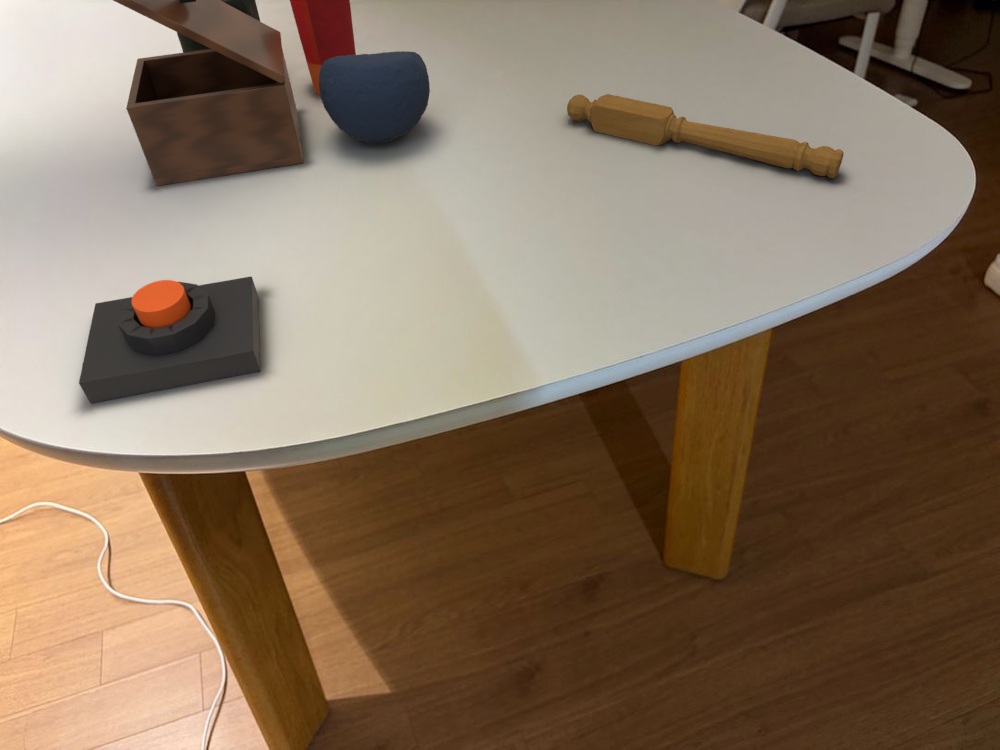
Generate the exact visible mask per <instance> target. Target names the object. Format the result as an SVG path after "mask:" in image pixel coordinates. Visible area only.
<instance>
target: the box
mask: <svg viewBox="0 0 1000 750" xmlns="http://www.w3.org/2000/svg"><path fill="white" fill-rule="evenodd" d="M283 50H284V49H283V48H282V53H283V62H284V72H285V79H284V81H283V83H282V84H281V83H279V82H277V81H275V80H273V79H271V78H269V77H267V76H265V75H263V74H261V73H259V72H257V71H255V70H253V69H251V68H249V67H247V66H245V65H243V64H241V63H239V62H237V61H235V60H233V59H231V58H229V57H227V56H225V55H223V54H221V53H219V52H217V51H214V50H212V49H206V50H199V51H191V52H184V53H183V52H177V53H176V52H175V53H171V54H169V53H168V54H163V55H155V56H147V57H139V58H137V60H136V63H135V68H134V72H133V77H132V81H131V86H130V90H129V95H128V99H127V102H126V103H127V104H126V107H125V108H126V111H127V114H128V116H129V119H130V122H131V124H132V126H133V130H134V132H135V134H136V137H137V139H138V142H139V144H140V147H141V150H142V152H143V155H144V157H145V160H146V162H147V165H148V168H149V170H150V172H151V176H152V178H153V180H154V183H155V185H156V187H159V186H166V185H172V184H178V183H185V182H190V181H198V180H203V179H204V180H205V179H210V178H217V177H223V176H229V175H236V174H242V173H249V172H255V171H261V170H268V169H273V168H280V167H286V166H287V167H288V166H293V165H301V164H304V158H303V157H304V156H303V149H302V142H301V141H302V140H301V132H300V124H299V117H298V116H299V114H298V110H297V106H296V101H295V96H294V93H293V88H292V84H291V79H290V75H289V72H288V67H287V63H286V58H285V54H284V51H283Z"/></svg>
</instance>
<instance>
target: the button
mask: <svg viewBox="0 0 1000 750" xmlns="http://www.w3.org/2000/svg"><path fill="white" fill-rule="evenodd" d="M179 282H180V281H176V280H171V279H163V280H161V279H160V280H156V281H152V282H150V283H147V284H145V285H143V286H142V287H140V288H139V289H138V290H137V291H135V293H134V294H133V296H131V297H132V306H133V308H134V310H135V312H136V314H137V316H138V319H139V321H140V323H141V324H142V325H144V326H145V327H149V328H159V327H164V326H170V325H172V324H174V323H176V322H177V321H179V320H181V319H183V318H185V317H186V316H187V314H188V313H189V312H190V309H191V305H190V302H189V300H188V297H187V295H186V292H185V290H184V287H183V286H182V285H181V284H180V283H179Z"/></svg>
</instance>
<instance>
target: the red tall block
mask: <svg viewBox="0 0 1000 750" xmlns="http://www.w3.org/2000/svg"><path fill="white" fill-rule="evenodd" d="M289 3H290V6H291V11H292V14H293V18H294V22H295V25H296V29H297V33H298V36H299V40H300V43H301V47H302V51H303V55H304V58H305V62H306V65H307V68H308V72H309V75H310V80H311V83H312V85H313V89H314V92H315V93H316V94H318V95H319V96H321V95H320V89H319V73H320V69H321V66H322V64H323V63H324V61H326V60H328V59H330V58H333V57H336V56H346V55H357V54H356V43H355V35H354V27H353V26H354V25H353V19H352V18H353V17H352V9H351V1H350V0H289Z"/></svg>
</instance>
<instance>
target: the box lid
mask: <svg viewBox="0 0 1000 750" xmlns="http://www.w3.org/2000/svg"><path fill="white" fill-rule="evenodd" d="M112 1H113V2H115V3H118V4H119V5H121V6H123V7H125V8H127V9H130V10H131V11H134V12H136V13H137V14H140V15H142V16H144V17H146V18H147V19H150V20H151V21H154V22H156V23H157V24H160V25H162V26H164V27H166V28H168V29H170V30H172V31H174V32H176V33H177V32H178V33H180V34H182V35H184V36H186V37H188V38H190V39H192V40H194V41H196V42H198V43H200V44H202V45H204V46H206V47H208V48H210V49H212V50H214V51H217V52H219V53H221V54H223V55H225V56H227V57H229V58H231V59H233V60H235V61H237V62H239V63H241V64H243V65H245V66H247V67H249V68H251V69H253V70H255V71H257V72H259V73H261V74H263V75H265V76H267V77H269V78H271V79H273V80H275V81H277V82H279V83H281V84H282V83H283V81H284V79H285V72H284V62H283V54H284V52H283V53H282V49H283V44H282V35H281V33H282V32H281V31H280V30H277V29H275V28H273V27H272V26H270V25H268V24H266V23H264V22H262V21H261V20H260V21H258V20H256V19H254V18H253V17H251V16H249V15H247V14H245V13H243V12H241V11H239V10H237V9H236V8H234V7H232V6H230V5H228V4H226V3H224V2H222V1H220V0H196V2H189V3H180V0H112Z"/></svg>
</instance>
